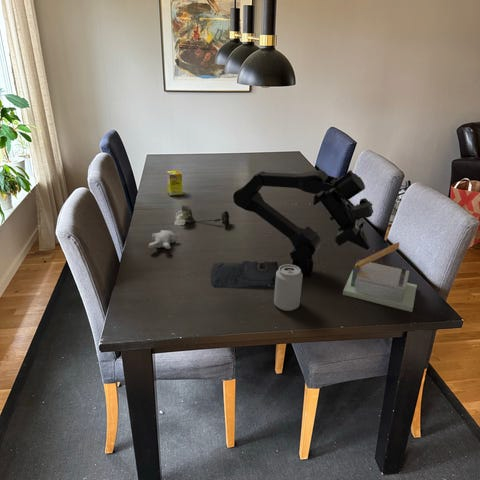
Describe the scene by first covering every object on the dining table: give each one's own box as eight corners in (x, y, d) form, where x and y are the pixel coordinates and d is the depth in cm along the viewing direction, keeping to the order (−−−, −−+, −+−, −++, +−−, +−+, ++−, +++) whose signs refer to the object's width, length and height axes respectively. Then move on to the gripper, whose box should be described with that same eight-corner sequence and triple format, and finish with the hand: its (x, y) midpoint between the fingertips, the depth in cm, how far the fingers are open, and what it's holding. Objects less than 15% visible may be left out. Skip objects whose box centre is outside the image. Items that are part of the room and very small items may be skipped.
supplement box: (182, 195, 205) (182, 173, 201) (170, 197, 203) (169, 174, 199) (179, 191, 210) (178, 170, 206) (167, 193, 208) (166, 171, 204)
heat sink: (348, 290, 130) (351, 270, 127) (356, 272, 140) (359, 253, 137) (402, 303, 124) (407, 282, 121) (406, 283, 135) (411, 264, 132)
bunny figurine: (180, 228, 162) (172, 240, 148) (180, 240, 164) (172, 254, 149) (155, 226, 162) (144, 239, 148) (155, 239, 164) (145, 253, 150)
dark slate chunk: (212, 265, 146) (212, 253, 144) (276, 267, 146) (277, 254, 144) (209, 289, 132) (209, 276, 130) (280, 291, 132) (282, 278, 130)
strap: (355, 270, 132) (353, 267, 131) (357, 265, 134) (355, 262, 134) (398, 249, 123) (396, 246, 123) (400, 244, 126) (397, 241, 126)
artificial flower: (226, 234, 171) (221, 214, 165) (173, 233, 177) (167, 213, 171) (231, 220, 178) (227, 200, 171) (180, 219, 183) (174, 200, 177)
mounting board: (342, 294, 131) (343, 290, 130) (351, 274, 142) (352, 270, 142) (412, 312, 123) (413, 307, 123) (415, 288, 135) (416, 284, 134)
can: (297, 298, 128) (301, 262, 123) (301, 312, 121) (305, 275, 116) (272, 297, 128) (274, 262, 123) (274, 312, 121) (277, 275, 116)
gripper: (352, 202, 116) (387, 248, 117) (364, 184, 131) (395, 224, 132) (320, 223, 122) (354, 266, 123) (336, 203, 138) (365, 241, 138)
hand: (368, 248), depth 129 cm, fingers closed
